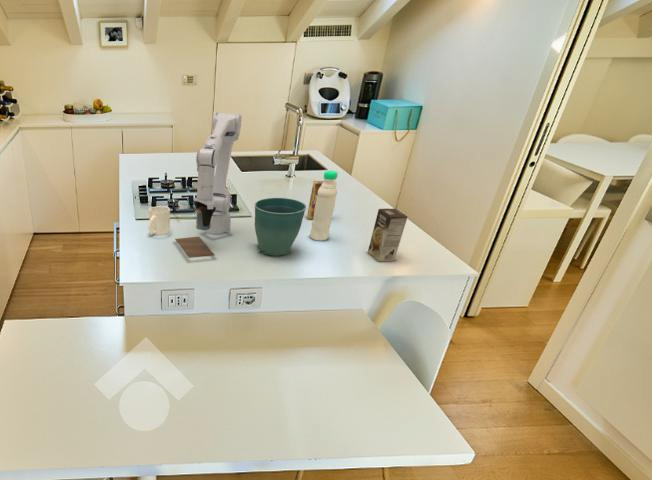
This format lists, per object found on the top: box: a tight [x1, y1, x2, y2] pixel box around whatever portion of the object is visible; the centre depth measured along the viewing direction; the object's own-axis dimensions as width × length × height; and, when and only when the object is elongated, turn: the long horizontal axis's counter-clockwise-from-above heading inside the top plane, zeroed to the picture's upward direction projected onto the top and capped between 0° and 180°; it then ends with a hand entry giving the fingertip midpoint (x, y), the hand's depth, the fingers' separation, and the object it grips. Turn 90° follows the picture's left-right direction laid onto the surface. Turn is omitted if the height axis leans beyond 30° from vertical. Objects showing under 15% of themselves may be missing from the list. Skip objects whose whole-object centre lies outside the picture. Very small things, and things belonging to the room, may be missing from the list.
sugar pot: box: [195, 208, 211, 231], centre depth 186 cm, size 6×6×8 cm
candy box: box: [306, 180, 337, 220], centre depth 216 cm, size 9×4×15 cm, turn 86°
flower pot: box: [254, 197, 307, 256], centre depth 186 cm, size 18×18×17 cm
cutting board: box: [174, 236, 215, 259], centre depth 192 cm, size 20×10×2 cm, turn 12°
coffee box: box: [367, 208, 408, 262], centre depth 180 cm, size 9×6×16 cm
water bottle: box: [309, 170, 338, 241], centre depth 194 cm, size 7×7×25 cm
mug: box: [148, 205, 171, 236], centre depth 203 cm, size 12×8×10 cm
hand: (203, 223), depth 187 cm, fingers closed on sugar pot, 5 cm apart
